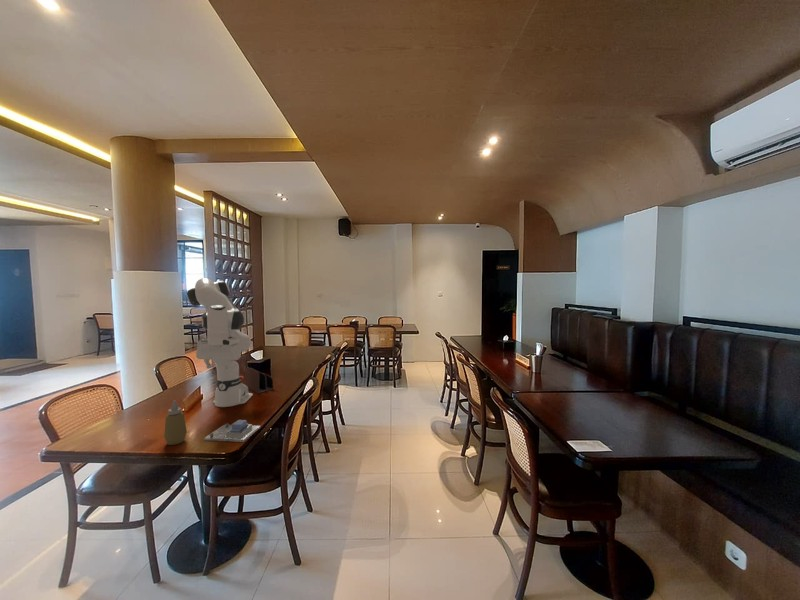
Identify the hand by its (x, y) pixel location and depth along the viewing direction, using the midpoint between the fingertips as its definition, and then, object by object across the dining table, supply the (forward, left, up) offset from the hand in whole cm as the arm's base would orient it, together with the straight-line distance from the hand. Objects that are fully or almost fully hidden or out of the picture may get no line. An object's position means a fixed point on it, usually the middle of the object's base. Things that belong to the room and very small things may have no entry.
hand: (218, 368), depth 156 cm
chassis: (+7, +11, -28) cm, 31 cm away
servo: (+8, +14, -27) cm, 31 cm away
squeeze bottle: (+17, -9, -28) cm, 34 cm away
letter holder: (-57, -12, -28) cm, 65 cm away
